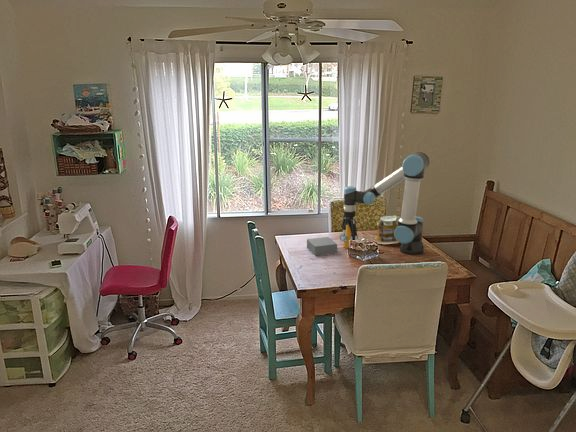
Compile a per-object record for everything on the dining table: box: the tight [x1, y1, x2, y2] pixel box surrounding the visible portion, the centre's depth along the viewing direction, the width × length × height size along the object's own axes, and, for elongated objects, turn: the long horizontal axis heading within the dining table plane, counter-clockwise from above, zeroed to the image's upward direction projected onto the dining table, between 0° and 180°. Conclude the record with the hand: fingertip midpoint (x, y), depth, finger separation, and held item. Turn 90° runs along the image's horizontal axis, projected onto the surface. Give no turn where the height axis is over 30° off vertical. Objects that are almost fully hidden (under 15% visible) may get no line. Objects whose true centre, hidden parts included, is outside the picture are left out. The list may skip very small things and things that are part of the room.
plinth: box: [306, 236, 338, 256], centre depth 318 cm, size 15×15×6 cm
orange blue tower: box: [339, 225, 359, 249], centre depth 323 cm, size 12×10×15 cm
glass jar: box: [374, 215, 400, 245], centre depth 334 cm, size 25×25×17 cm
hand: (348, 242), depth 324 cm, fingers closed on orange blue tower, 12 cm apart
